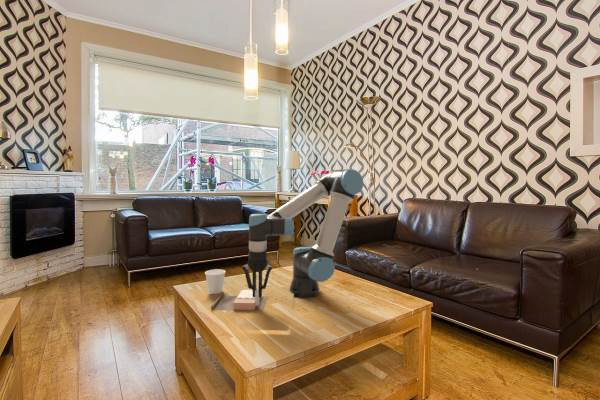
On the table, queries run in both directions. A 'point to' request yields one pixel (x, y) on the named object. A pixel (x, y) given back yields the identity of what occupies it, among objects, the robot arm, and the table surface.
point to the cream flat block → (246, 294)
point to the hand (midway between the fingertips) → (257, 304)
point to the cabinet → (244, 304)
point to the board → (228, 301)
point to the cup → (215, 280)
